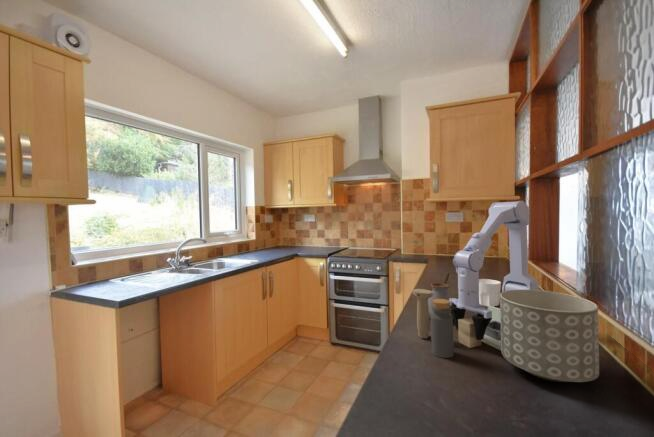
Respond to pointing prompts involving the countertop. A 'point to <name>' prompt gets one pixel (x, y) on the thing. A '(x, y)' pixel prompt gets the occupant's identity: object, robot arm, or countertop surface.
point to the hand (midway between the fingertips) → (469, 334)
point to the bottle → (442, 329)
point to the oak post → (467, 333)
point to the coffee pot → (439, 293)
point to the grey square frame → (492, 332)
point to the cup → (489, 292)
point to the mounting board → (488, 339)
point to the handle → (422, 311)
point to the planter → (550, 334)
